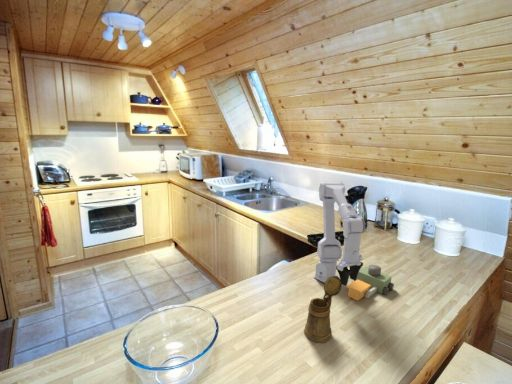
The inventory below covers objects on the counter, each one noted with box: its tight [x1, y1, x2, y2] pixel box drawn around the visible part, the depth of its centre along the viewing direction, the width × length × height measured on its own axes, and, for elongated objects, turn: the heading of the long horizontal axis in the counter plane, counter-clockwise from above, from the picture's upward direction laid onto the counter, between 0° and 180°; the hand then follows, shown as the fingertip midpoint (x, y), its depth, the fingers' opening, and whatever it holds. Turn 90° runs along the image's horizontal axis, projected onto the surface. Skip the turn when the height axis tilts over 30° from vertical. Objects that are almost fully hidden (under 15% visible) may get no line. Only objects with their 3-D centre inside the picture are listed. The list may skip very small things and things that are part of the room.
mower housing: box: [353, 264, 395, 299], centre depth 124 cm, size 16×14×8 cm
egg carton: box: [306, 230, 345, 248], centre depth 178 cm, size 18×30×4 cm, turn 120°
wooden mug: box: [303, 275, 342, 344], centre depth 96 cm, size 9×14×18 cm, turn 130°
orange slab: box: [346, 279, 371, 301], centre depth 119 cm, size 8×6×4 cm
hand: (348, 281), depth 111 cm, fingers open, 6 cm apart
